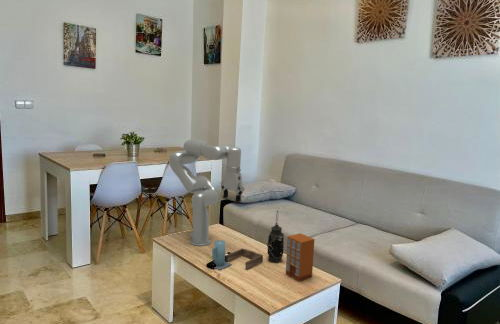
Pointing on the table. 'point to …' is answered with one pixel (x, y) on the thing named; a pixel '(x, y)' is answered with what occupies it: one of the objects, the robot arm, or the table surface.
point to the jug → (219, 253)
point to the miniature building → (299, 256)
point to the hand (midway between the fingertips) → (231, 199)
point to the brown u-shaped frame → (254, 257)
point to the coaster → (223, 266)
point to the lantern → (275, 244)
